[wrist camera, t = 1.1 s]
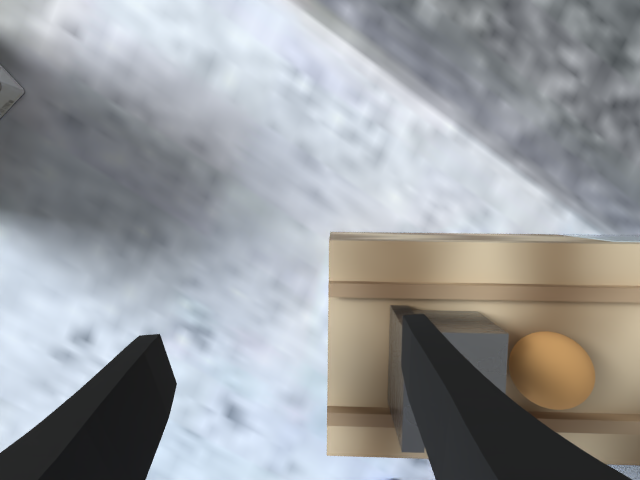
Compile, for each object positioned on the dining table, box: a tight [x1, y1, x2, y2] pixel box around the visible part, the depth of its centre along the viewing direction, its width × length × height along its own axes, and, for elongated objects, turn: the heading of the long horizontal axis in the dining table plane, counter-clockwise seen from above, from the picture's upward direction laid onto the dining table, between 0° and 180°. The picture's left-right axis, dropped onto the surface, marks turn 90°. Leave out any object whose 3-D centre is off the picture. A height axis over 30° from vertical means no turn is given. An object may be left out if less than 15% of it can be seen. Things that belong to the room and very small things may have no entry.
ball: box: [509, 331, 595, 410], centre depth 16 cm, size 3×3×3 cm
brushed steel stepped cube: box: [388, 305, 509, 453], centre depth 15 cm, size 4×4×4 cm
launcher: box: [327, 232, 640, 465], centre depth 20 cm, size 18×10×6 cm, turn 89°
